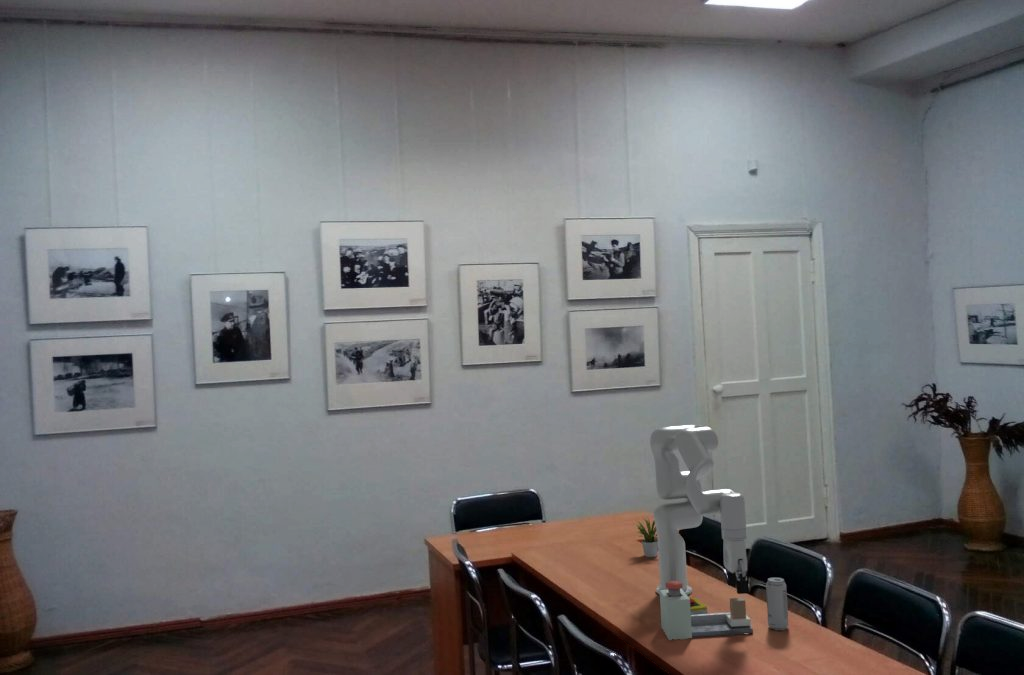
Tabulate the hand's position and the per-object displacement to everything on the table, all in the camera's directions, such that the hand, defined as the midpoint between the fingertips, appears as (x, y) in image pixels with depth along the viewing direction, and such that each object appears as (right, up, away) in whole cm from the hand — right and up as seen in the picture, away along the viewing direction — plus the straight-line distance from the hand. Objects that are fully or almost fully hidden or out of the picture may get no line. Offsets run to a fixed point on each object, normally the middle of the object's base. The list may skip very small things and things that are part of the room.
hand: (737, 589), depth 269 cm
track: (-6, -13, 0) cm, 14 cm away
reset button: (-20, -4, 0) cm, 20 cm away
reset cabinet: (-19, -14, 0) cm, 23 cm away
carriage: (0, -11, +1) cm, 11 cm away
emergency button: (-11, -14, +20) cm, 27 cm away
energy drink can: (+12, -12, 0) cm, 17 cm away
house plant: (-11, -13, +94) cm, 96 cm away
